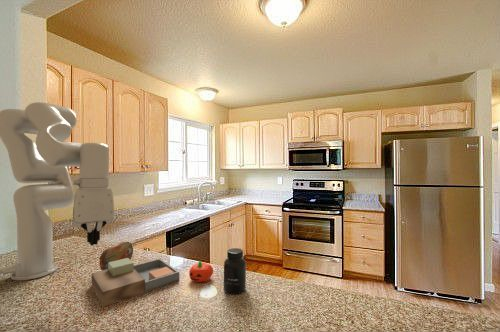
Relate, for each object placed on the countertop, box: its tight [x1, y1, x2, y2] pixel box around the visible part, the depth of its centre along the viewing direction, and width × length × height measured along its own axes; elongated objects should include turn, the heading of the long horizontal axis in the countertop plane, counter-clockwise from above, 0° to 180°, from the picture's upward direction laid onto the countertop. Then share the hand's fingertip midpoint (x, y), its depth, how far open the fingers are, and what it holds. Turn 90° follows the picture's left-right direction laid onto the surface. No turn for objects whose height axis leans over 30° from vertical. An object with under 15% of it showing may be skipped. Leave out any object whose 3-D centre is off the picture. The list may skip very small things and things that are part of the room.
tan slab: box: [91, 269, 146, 308], centre depth 75 cm, size 11×16×4 cm
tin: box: [99, 241, 134, 271], centre depth 92 cm, size 15×3×8 cm, turn 169°
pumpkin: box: [188, 260, 214, 283], centre depth 81 cm, size 7×8×6 cm
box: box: [134, 258, 180, 293], centre depth 82 cm, size 11×16×3 cm
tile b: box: [108, 258, 135, 276], centre depth 79 cm, size 6×6×2 cm
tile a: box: [149, 267, 174, 280], centre depth 80 cm, size 6×6×2 cm
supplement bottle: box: [223, 247, 247, 295], centre depth 74 cm, size 7×7×12 cm
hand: (93, 243), depth 74 cm, fingers closed
